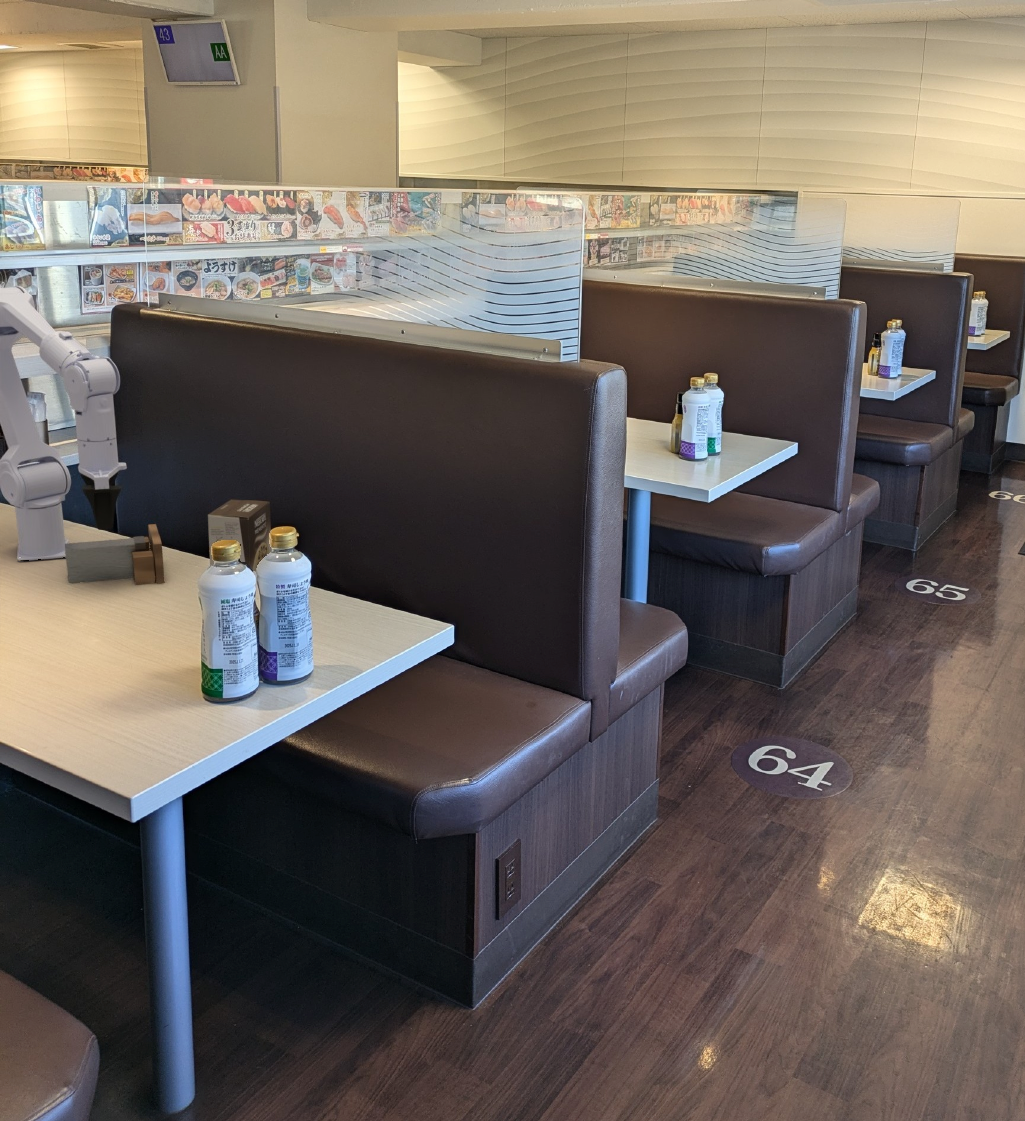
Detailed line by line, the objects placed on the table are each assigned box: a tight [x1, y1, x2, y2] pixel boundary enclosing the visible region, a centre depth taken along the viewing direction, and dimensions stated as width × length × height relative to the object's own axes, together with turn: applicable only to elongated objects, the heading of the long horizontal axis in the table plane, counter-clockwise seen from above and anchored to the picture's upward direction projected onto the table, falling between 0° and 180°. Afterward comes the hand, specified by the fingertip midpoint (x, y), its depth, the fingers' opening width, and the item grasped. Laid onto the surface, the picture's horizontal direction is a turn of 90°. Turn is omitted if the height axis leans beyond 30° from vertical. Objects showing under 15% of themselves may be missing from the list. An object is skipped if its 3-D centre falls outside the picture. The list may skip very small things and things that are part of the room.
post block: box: [132, 523, 166, 585], centre depth 182 cm, size 11×4×6 cm, turn 22°
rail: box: [65, 535, 146, 584], centre depth 179 cm, size 4×12×6 cm, turn 112°
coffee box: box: [207, 499, 272, 571], centre depth 166 cm, size 9×6×16 cm
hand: (104, 521), depth 178 cm, fingers open, 7 cm apart
